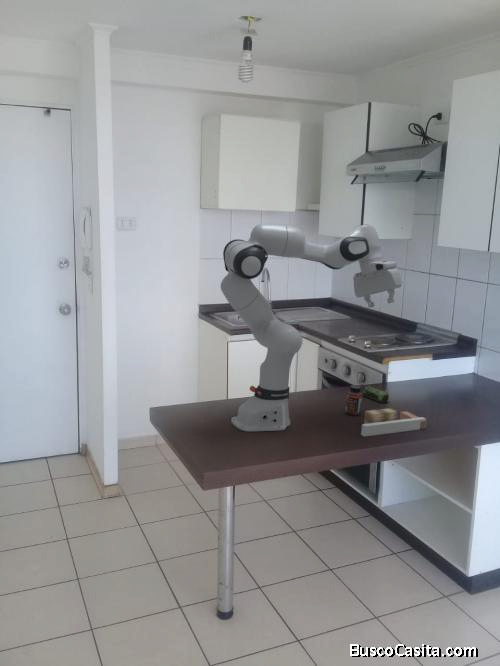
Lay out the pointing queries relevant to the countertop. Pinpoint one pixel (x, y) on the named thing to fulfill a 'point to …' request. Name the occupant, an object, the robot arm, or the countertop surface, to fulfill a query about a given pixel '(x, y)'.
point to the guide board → (395, 425)
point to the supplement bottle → (354, 401)
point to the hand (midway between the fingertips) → (381, 305)
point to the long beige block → (380, 415)
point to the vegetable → (375, 394)
